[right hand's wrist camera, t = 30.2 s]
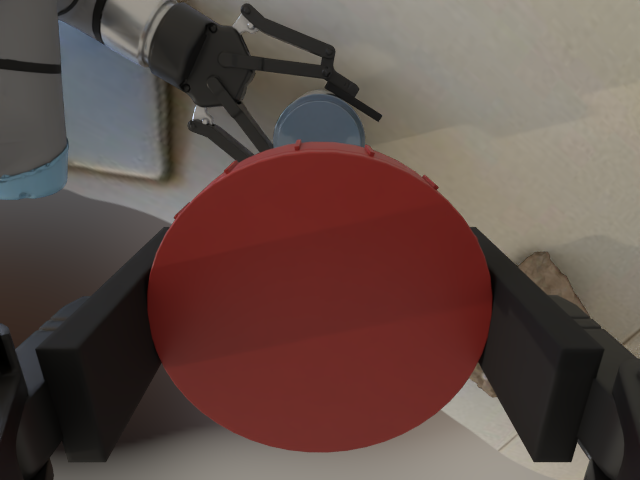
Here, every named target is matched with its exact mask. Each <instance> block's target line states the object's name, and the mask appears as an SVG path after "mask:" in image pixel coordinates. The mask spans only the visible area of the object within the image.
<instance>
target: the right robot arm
mask: <svg viewBox="0 0 640 480" xmlns="http://www.w3.org/2000/svg"><path fill="white" fill-rule="evenodd" d="M169 228H170V227H164V228H163V229H162V230H161V231H159V232H158V233H157V234H156V235H155V236H154V237H153V238H152V239H151V240H150V241H149V242H148V243H147V244H146V245H145V246H144V247H142V248H141V249H140V250H139V251H138V252H137V253H136V254H135V255H134V256H133V257H132V258H131V259H130V260H129V261H128V262H127V263H126V264H124V265H123V266H122V267H121V268H120V269H119V270H118V271H117V272H116V273H115V274H114V275H113V276H112V277H111V278H110V279H109V280H108V281H106V282H105V283H104V284H103V285H102V286H101V287H100V288H99V289H98V290H97V291H96V292H95V293H94V294H93V295H92V296H83V297H81V298H79V299H77V300H75V301H73V302H71V303H69V304H67V305H66V306H64V307H63V308H61V309H60V310H59V311H58V312H57V313H56V314H55V315H53V316H52V317H51V318H50V321H47V322H45V323H44V324H43V325H42V326H41V327H40V328H39V331H35V332H34V333H33V334H32V335H31V336H30V337H29V338H27V339H26V340H25V341H24V342H23V343H22V344H21V345H19V346H18V347H17V348H16V349H15V347H14V344H13V341H12V338H11V335H10V331H9V328H8V327H7V326H5V325H3V324H1V323H0V480H53V477H54V474H53V468H52V464H51V461H50V456H51V455H52V454H53V452H54V451H55V449H56V448H57V447H58V445H59V444H60V442H61V441H62V442H63V446H64V449H65V452H66V456H67V459H68V462H106V461H107V459H108V457H109V456H110V454H111V452H112V450H113V449H114V447H115V445H116V443H117V441H118V440H119V438H120V436H121V434H122V432H123V431H124V429H125V427H126V425H127V423H128V422H129V420H130V418H131V416H132V415H133V413H134V411H135V409H136V407H137V406H138V404H139V402H140V400H141V398H142V397H143V395H144V393H145V391H146V390H147V388H148V386H149V384H150V382H151V381H152V379H153V377H154V375H155V373H156V372H157V370H158V368H159V366H160V365H161V363H162V362H161V360H160V358H159V356H158V354H157V352H156V349H155V346H154V342H153V339H152V335H151V329H150V323H149V318H148V311H147V290H148V284H149V277H150V271H151V268H152V265H153V262H154V259H155V255H156V252H157V250H158V248H159V246H160V244H161V242H162V240H163V238H164V236H165V234H166V232H167V231H168V229H169ZM470 229H471V230H472V232H473V233H474V235H475V236H476V237H477V238H478V243H479V245H480V247H481V249H482V251H483V254H484V256H485V259H486V263H487V266H488V270H489V274H490V278H491V287H492V295H493V300H492V315H491V321H490V327H489V333H488V338H487V341H486V344H485V347H484V350H483V353H482V355H481V357H480V359H479V361H478V363H479V365H480V367H481V369H482V370H483V372H484V374H485V376H486V378H487V379H488V381H489V383H490V385H491V386H492V388H493V390H494V392H495V394H496V395H497V397H498V399H499V401H500V403H501V404H502V406H503V408H504V410H505V411H506V413H507V415H508V417H509V419H510V420H511V422H512V424H513V426H514V428H515V429H516V431H517V433H518V435H519V437H520V438H521V440H522V442H523V444H524V445H525V447H526V449H527V451H528V453H529V454H530V456H531V458H532V460H533V462H571V461H572V458H573V455H574V451H575V448H576V445H577V441H578V439H579V441H580V442H581V443H582V445H583V446H584V448H585V449H586V450H587V452H588V453H589V454H590V456H591V458H590V461H589V464H588V467H587V470H586V474H585V477H584V480H640V359H637V358H636V357H635V356H634V355H633V354H632V353H631V352H629V351H628V350H627V349H626V348H625V347H624V346H623V345H621V344H620V343H619V342H618V341H617V340H616V339H615V338H613V337H612V336H611V335H610V334H609V333H608V332H607V331H606V330H604V329H601V326H600V325H599V324H598V323H596V322H595V321H594V320H593V319H590V316H588V315H587V314H586V313H585V312H584V311H583V310H582V309H580V308H579V307H578V306H577V305H576V304H574V303H572V302H570V301H568V300H566V299H564V298H562V297H560V296H558V295H547V294H546V293H545V292H544V291H543V290H542V289H541V288H540V287H539V286H537V285H536V284H535V283H534V282H533V281H532V280H531V279H530V278H529V277H528V276H527V275H526V274H525V273H524V272H523V271H522V270H521V269H519V268H518V267H517V266H516V265H515V264H514V263H513V262H512V261H511V260H510V259H509V258H508V257H507V256H506V255H505V254H504V253H503V252H501V251H500V250H499V249H498V248H497V247H496V246H495V245H494V244H493V243H492V242H491V241H490V240H489V239H488V238H487V237H486V236H485V235H483V234H482V233H481V232H480V231H479V230H478V229H477V228H476V227H470Z"/></svg>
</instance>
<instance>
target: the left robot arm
mask: <svg viewBox="0 0 640 480" xmlns="http://www.w3.org/2000/svg"><path fill="white" fill-rule="evenodd" d="M58 20H61V21H63V22H65V23H67V24H69V25H71V26H73V27H74V28H76V29H78V30H80V31H82V32H83V33H85V34H87V35H89V36H91V37H92V38H94V39H96V40H98V41H99V42H100V43H102V44H104V45H106V46H107V47H108V48H110V49H112V50H113V51H115V52H117V53H118V54H120V55H122V56H123V57H125V58H127V59H129V60H130V61H132V62H134V63H135V64H137V65H139V66H140V67H143V68H147V67H149V68H150V70H151V72H152V73H153V74H154V75H156V76H158V77H160V78H161V79H163V80H165V81H166V82H168V83H170V84H171V85H173V86H175V87H177V88H178V89H180V90H182V91H183V92H185V93H187V94H188V95H189V96H190V97H191V98H192V100H193V101H194V103H195V104H196V107H195V111H194V115H193V119H192V120H190V121H189V122H188V129H189V130H190V131H192V132H195V133H197V134H200V135H203V136H205V137H208V138H209V139H210V140H211V141H213V142H214V143H215V144H216V145H218V146H219V147H220V148H221V149H223V150H224V151H225V152H226V153H228V154H229V155H230V156H231V157H232V158H234V159H235V160H237V161H238V162H241V161H243V160H245V159H246V158H249V157H251V156H254V154H253V153H251V152H250V151H249V150H248V149H247V148H245V147H244V146H243V145H242V144H241V143H239V142H238V141H237V140H236V139H234V138H233V137H232V136H231V135H230V134H228V133H227V132H226V131H225V130H223V129H222V128H221V127H219V126H218V125H216V124H214V118H213V117H212V116H211V115H209V114H208V112H207V107H217V106H224V108H225V109H226V110H227V112H228V113H229V114H230V115H231V117H233V118H234V119H235V120H236V122H237V123H238V124H239V126H240V127H241V128H242V129H243V131H244V132H245V133H246V135H247V136H248V137H249V139H250V140H251V141H252V143H253V144H254V145H255V147H256V148H257V149H258V150H259V152H260V153H261V152H263V151H266V150H269V149H273V148H274V146H273V144H272V143H271V142H270V140H269V139H268V138H267V136H266V135H265V134H264V132H263V131H262V129H261V128H260V127H259V125H258V124H257V123H256V121H255V120H254V119H253V117H252V116H251V115H250V113H249V112H248V111H247V109H246V107H245V105H244V104H243V103H242V101H241V100H243V98H244V96H245V94H246V89H247V85H248V84H249V83H250V82H251V81H252V79H253V77H254V75H255V70H259V71H267V72H275V73H282V74H290V75H298V76H306V77H314V78H322V79H325V80H326V81H328V82H327V84H326V86H325V89H327V90H329V91H330V92H332V93H333V94H335V95H337V96H338V97H340V98H341V99H343V100H344V101H346V102H348V103H349V104H351V105H352V106H354V107H356V108H357V109H359V110H360V111H362V112H364V113H365V114H367V115H368V116H370V117H371V118H373V119H375V120H376V121H378V122H379V120H380V119H381V117H382V115H381V114H379V113H378V112H376V111H375V110H373V109H372V108H370V107H368V106H367V105H365V104H364V103H362V102H360V101H359V100H357V99H356V98H354V97H355V96H356V94H357V92H358V91H359V88H358V87H357V85H356V84H354V83H353V82H351V81H350V80H348V79H347V78H345V77H343V76H342V75H340V74H339V73H337V72H336V71H335V70H334V68H333V62H334V57H335V49H334V47H333V46H331V45H329V44H326V43H324V42H321V41H319V40H317V39H314V38H312V37H309V36H307V35H305V34H302V33H300V32H297V31H295V30H292V29H290V28H288V27H285V26H283V25H280V24H278V23H276V22H273V21H271V20H268V19H266V18H264V17H263V16H262V15H261V14H260V13H259V12H258V11H257V10H256V9H255V8H253V7H252V6H251V5H250V4H247V3H246V4H244V5H243V6H242V7H241V14H240V16H239V17H238V19H237V20H236V22H235V23H234V24H233V26H232V27H231V26H222V25H219V24H218V23H216V22H215V21H213V20H211V19H210V18H208V17H207V16H205V15H203V14H202V13H200V12H199V11H197V10H195V9H194V8H192V7H191V6H189V5H187V4H186V3H184V2H182V3H177V0H0V199H2V200H19V199H23V198H33V199H34V198H41V197H45V196H49V195H52V194H54V193H57V192H58V191H60V190H61V189H62V188H63V187H64V186H65V184H66V182H67V172H68V148H69V144H68V139H67V137H66V127H65V115H64V103H63V91H62V79H61V56H60V41H59V26H58ZM259 30H260V31H261V32H263V33H264V34H267V35H269V36H271V37H273V38H276V39H278V40H281V41H283V42H286V43H288V44H291V45H293V46H295V47H298V48H300V49H303V50H305V51H308V52H310V53H313V54H315V55H317V56H320V57H322V61H321V65H315V64H307V63H299V62H292V61H284V60H276V59H268V58H262V57H254V56H251V55H250V53H249V50H248V48H247V46H246V44H245V42H244V39H243V37H242V34H243V33H244V32H249V33H251V34H256V33H257V32H258V31H259Z"/></svg>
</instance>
